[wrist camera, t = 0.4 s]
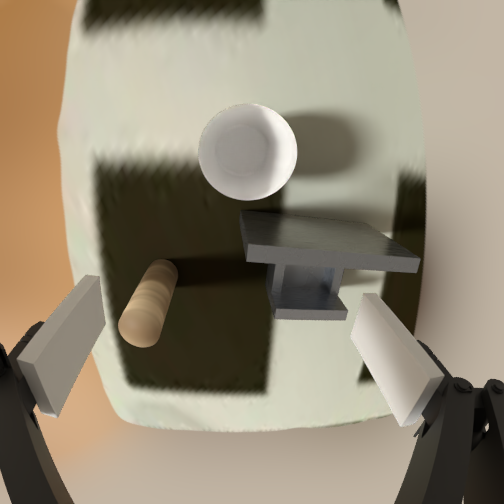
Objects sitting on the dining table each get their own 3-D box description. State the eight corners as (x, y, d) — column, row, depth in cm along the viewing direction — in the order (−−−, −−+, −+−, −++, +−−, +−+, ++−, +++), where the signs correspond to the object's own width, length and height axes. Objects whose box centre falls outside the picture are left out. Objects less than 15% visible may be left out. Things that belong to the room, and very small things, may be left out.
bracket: (240, 210, 39) (248, 244, 26) (366, 223, 41) (420, 258, 28) (233, 283, 43) (237, 343, 29) (351, 289, 45) (392, 341, 32)
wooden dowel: (147, 257, 40) (116, 308, 27) (178, 260, 41) (158, 313, 28) (148, 286, 42) (121, 344, 29) (178, 289, 42) (160, 349, 29)
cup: (291, 157, 37) (318, 162, 26) (235, 199, 39) (239, 222, 27) (248, 101, 35) (257, 82, 23) (190, 145, 36) (175, 145, 25)
